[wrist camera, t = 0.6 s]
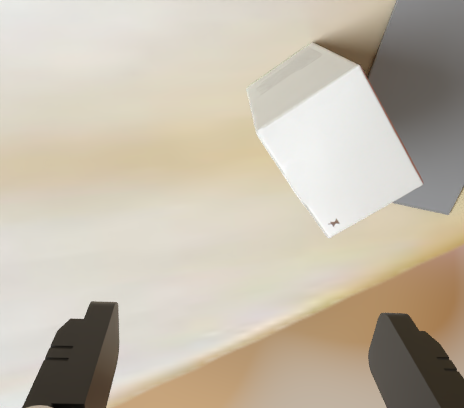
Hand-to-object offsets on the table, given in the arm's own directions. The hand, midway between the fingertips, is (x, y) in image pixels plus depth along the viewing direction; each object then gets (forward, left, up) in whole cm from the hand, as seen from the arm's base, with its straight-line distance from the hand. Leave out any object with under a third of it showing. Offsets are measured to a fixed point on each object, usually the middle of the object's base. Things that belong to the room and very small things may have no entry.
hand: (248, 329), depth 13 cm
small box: (-2, +6, -25) cm, 26 cm away
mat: (-5, +16, -25) cm, 30 cm away
